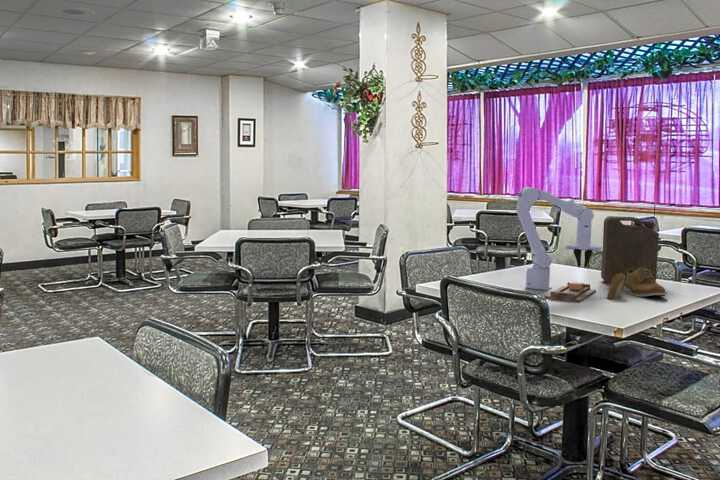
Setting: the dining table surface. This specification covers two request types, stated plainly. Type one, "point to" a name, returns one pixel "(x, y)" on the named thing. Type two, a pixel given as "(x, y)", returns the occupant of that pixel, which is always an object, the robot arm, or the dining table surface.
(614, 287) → the rock
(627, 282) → the oxford shoe
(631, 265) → the container
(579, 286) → the slider knob
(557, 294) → the slider track
